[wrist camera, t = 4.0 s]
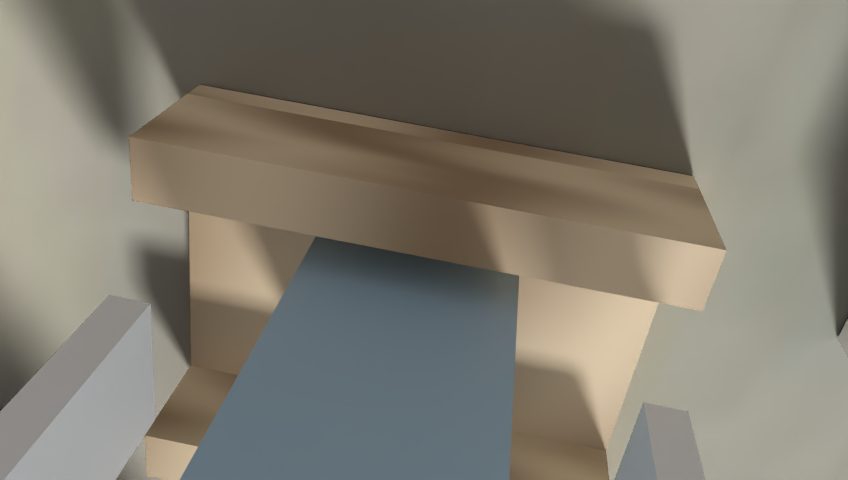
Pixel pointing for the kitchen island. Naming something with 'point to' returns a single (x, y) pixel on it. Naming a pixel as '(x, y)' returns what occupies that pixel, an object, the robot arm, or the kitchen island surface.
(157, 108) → the kitchen island surface
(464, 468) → the plug
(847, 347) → the white socket base
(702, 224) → the wooden channel
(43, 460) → the robot arm
